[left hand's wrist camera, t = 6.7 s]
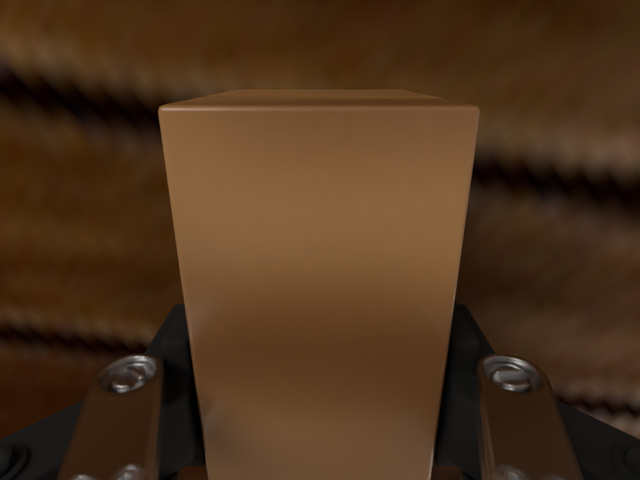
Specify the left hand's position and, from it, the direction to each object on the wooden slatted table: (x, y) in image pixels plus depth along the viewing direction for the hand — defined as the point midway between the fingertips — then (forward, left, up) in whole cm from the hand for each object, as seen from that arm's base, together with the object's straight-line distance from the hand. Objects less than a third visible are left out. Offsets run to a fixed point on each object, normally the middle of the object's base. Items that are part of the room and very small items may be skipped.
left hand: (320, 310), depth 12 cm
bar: (+18, +8, -2) cm, 19 cm away
